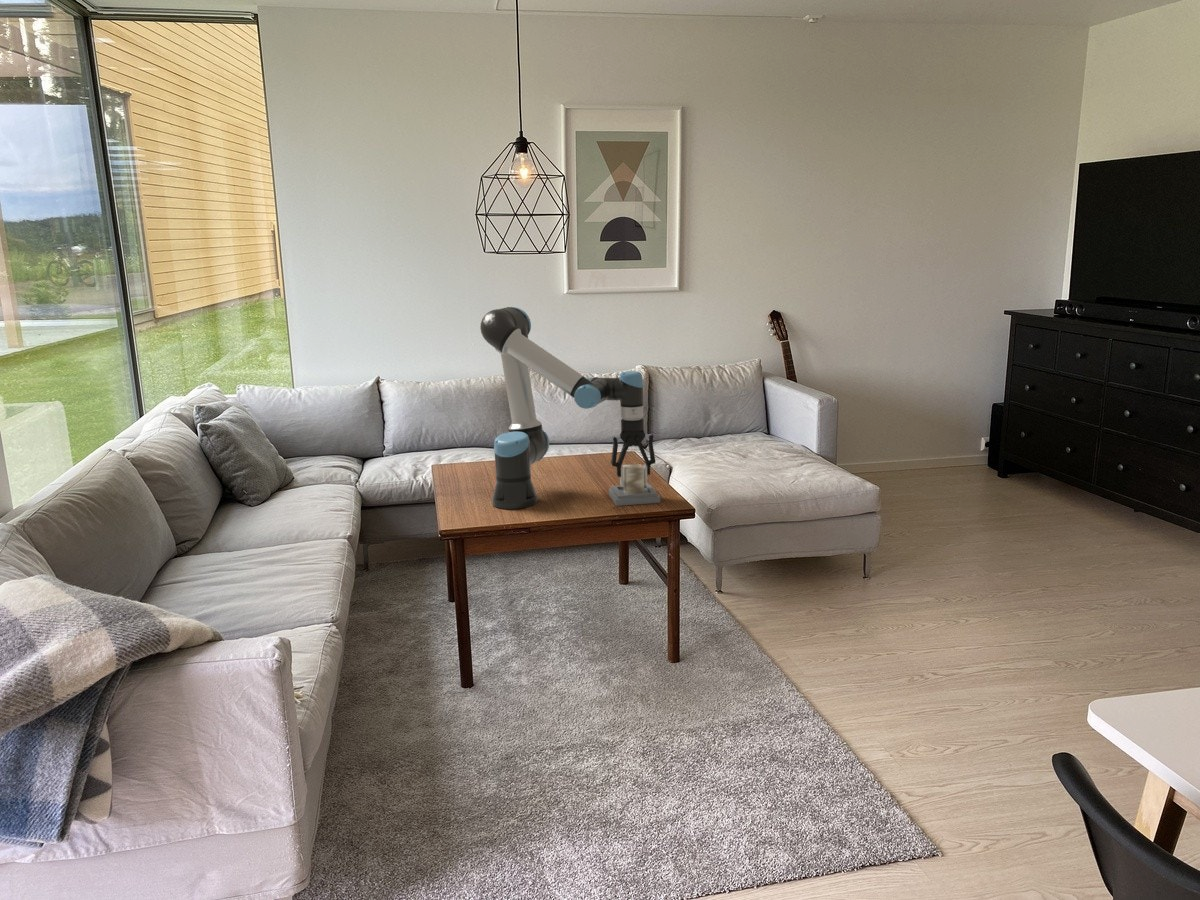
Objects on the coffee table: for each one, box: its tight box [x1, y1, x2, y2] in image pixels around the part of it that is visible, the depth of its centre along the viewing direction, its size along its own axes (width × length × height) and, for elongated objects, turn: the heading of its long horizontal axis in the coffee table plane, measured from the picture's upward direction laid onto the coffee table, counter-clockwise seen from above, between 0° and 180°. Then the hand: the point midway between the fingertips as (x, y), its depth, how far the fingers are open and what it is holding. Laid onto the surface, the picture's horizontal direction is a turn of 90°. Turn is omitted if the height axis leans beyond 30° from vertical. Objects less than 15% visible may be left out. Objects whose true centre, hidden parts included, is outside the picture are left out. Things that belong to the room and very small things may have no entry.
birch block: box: [622, 463, 644, 494], centre depth 295 cm, size 6×6×9 cm
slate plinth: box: [608, 482, 662, 507], centre depth 296 cm, size 15×15×3 cm
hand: (633, 484), depth 295 cm, fingers open, 7 cm apart
